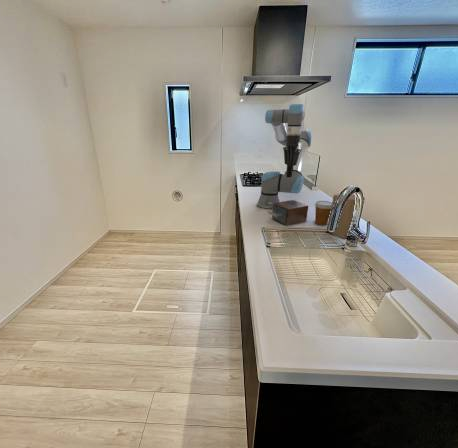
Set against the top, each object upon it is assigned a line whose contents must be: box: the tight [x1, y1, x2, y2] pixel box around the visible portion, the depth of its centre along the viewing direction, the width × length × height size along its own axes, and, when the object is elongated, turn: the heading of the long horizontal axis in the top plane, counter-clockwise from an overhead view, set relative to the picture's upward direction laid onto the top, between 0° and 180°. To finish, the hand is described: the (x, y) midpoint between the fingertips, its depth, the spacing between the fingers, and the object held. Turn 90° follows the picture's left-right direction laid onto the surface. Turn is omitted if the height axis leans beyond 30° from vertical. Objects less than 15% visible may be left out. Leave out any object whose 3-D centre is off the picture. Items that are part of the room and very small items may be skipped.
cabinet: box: [274, 199, 309, 226], centre depth 139 cm, size 15×13×10 cm
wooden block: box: [326, 193, 366, 239], centre depth 119 cm, size 10×10×20 cm
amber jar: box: [314, 200, 332, 226], centre depth 134 cm, size 10×10×12 cm
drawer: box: [267, 205, 287, 225], centre depth 138 cm, size 18×11×8 cm, turn 116°
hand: (289, 176), depth 142 cm, fingers closed
